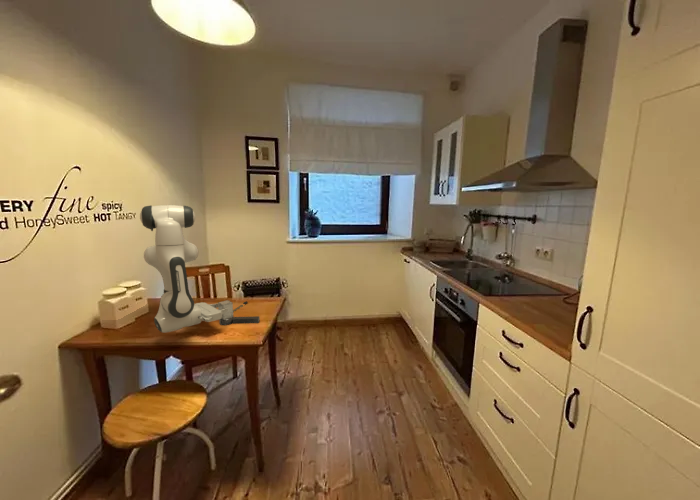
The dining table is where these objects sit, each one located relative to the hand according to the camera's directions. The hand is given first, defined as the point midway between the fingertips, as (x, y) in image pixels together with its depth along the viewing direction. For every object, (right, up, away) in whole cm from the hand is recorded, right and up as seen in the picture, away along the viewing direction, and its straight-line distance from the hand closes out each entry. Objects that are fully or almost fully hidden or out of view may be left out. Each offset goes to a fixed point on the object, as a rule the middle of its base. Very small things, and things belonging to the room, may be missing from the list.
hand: (222, 307), depth 157 cm
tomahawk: (+1, -6, +22) cm, 22 cm away
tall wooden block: (+1, -6, +2) cm, 6 cm away
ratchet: (+8, -8, +3) cm, 12 cm away
